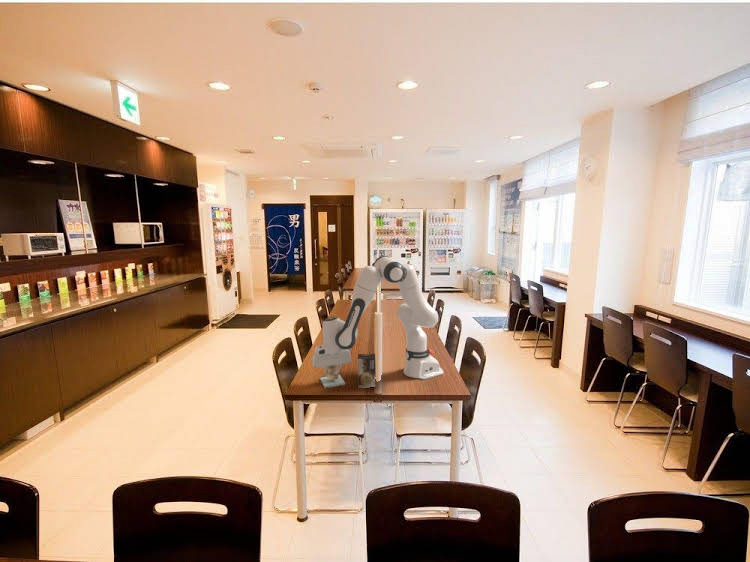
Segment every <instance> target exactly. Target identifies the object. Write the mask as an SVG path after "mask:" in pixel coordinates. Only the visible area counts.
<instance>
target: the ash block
mask: <svg viewBox="0 0 750 562" xmlns="http://www.w3.org/2000/svg"><path fill="white" fill-rule="evenodd" d="M338 367H339V366H338V365H333V366H326V370H328V374H326V377H327V378H328V380H333V379H338V375H339V372H338Z"/></svg>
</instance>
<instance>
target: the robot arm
mask: <svg viewBox="0 0 750 562" xmlns="http://www.w3.org/2000/svg"><path fill="white" fill-rule="evenodd" d="M383 280H386V281H387V282H389V283H395V284H396V283H397V285H398V289H399V293H400V296H401V299H402V301H403V302H404V303H402V304H400V305H399V306H398V308H397V313H396V314H397V317H398V319H399V320H400V321H401V323H402V325H403V327H404V330H405V335H406V348H405V365H404V369H403V374H404V375H405V376H407V377H409V378H412V379H419V380H427V379H431V378H435V377H438V376H442V375H444V374H445V373H444V369H442V367H440V363H439V361H438V359H436V358H434V357H433V356H432V354H433V353H434V351H433V350H432V349H429V348H427V346H428V337H427V334H426V333H425V331H424V330H423V328H434V327H436V325H437V324H438V321H439V314H438V311H437V310H436V309H434V308H433V307H432V306H431V305H430V304H429V302H428V301H427V299H426V297H425V296H424V294H423V291H422V287H421V284H420V280H419V276H418V274H417V272H416V269H415V267H414V266H413V265H412V264H409V263H404V264H402V263H400V262H399V261H398V260H396V259H394V258H392V257H390V256H388V255H381V256H378V257H377V258H376V259H375V261H374V262H372V264H371V265H366V266H364V267H363V268H362V269H361V271H360V274H359V275H358V277H357V280H356V281H355V284H354V286H353V291H352V297H351V301H350V302H351V304H350V308H349V311H348V314H347V317H346V320H345V321H344V320H342V319H341V318H339V317H337V316H330V317H328V318H326V319H325V320H324V321H323V324H322V336H323V340H322V344H320V345H318V346H315V347H314V349H313V350H314V353H313V354H312V366H313V368H315V369H317V368H322V369H323V370H324V375H327V374H328V370H327V367H326V366H333V365H336V366H337V367H338V373H340V372H341V368H342V367H343V365H347V364H351V362H352V356H351V353H352V348H353V347H354V346H355V344H356V340H357V337H358V333H359V329H358V325H359V323H360V321H361V318H362V316H363V314H364V312H365V311H366V309H367V308H368V306H369V305H370V304H371V302H372V301H373V298H374V297H375V296H376V295H375V294H376V293H377V290H378V286H379V284H380V283H381V282H382V281H383Z"/></svg>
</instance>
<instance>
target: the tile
mask: <svg viewBox="0 0 750 562" xmlns="http://www.w3.org/2000/svg"><path fill="white" fill-rule="evenodd" d="M319 381H320V382H321V384H322V386H323V388H324V389H326V388H327V387H328V388H333V387H338V386H340V385H341V386H346V382H345V380H344V378H342V376H341V374H338V379H333V380H328V378H327V376H324V377H319Z"/></svg>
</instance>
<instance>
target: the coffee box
mask: <svg viewBox="0 0 750 562" xmlns="http://www.w3.org/2000/svg"><path fill="white" fill-rule="evenodd" d="M376 367H377V366H376V353H358V354H357V368H358V369H357V372H358V373H357V375H358V376H357V377H358V378H357V379H358V389H367V388H368V389H371V388H370V387H374V385H375V377H377V375H376V374H377V373H376V370H377V369H376Z"/></svg>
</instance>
